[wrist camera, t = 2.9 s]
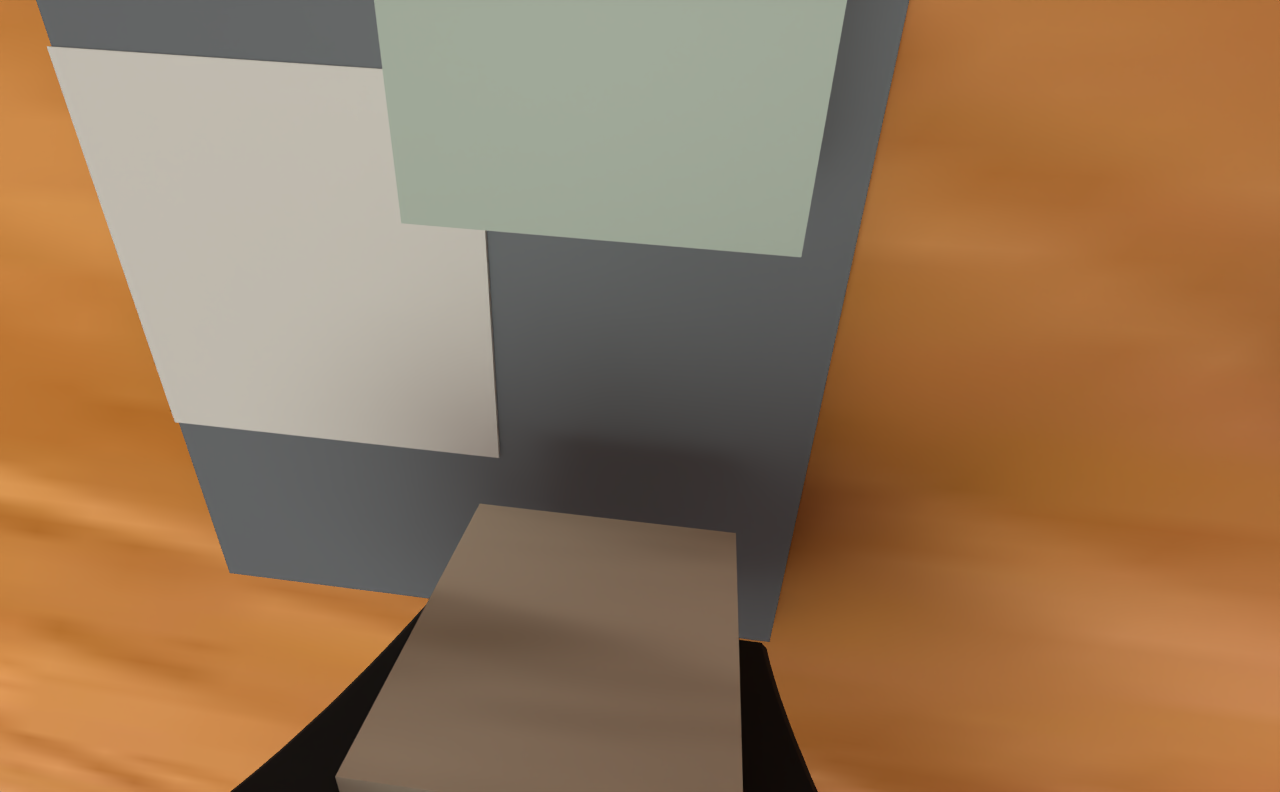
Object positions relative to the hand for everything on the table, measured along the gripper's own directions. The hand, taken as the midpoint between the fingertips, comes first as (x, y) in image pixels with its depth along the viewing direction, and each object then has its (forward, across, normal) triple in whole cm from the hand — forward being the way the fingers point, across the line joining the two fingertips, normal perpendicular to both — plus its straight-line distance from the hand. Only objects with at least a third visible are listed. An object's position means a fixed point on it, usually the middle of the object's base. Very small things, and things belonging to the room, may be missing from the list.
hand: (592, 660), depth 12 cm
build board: (+5, +4, -5) cm, 8 cm away
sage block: (+4, 0, -10) cm, 11 cm away
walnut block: (+1, 0, 0) cm, 1 cm away
